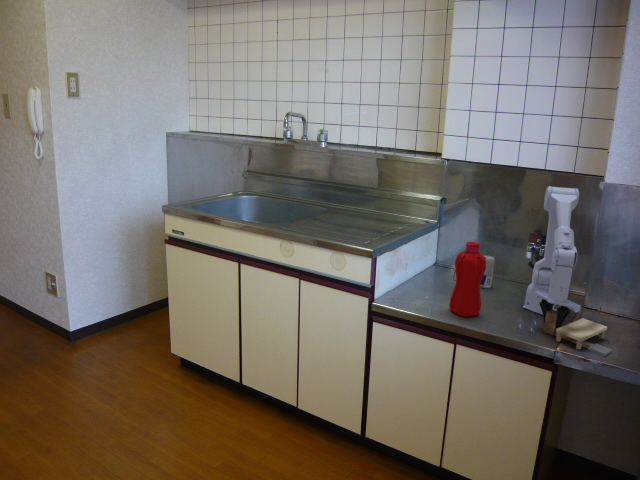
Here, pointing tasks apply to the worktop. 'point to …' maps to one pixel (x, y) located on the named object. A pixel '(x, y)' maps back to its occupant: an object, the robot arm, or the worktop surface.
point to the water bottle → (468, 281)
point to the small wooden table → (581, 331)
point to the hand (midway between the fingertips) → (552, 325)
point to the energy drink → (488, 272)
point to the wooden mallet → (551, 328)
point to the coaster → (600, 350)
